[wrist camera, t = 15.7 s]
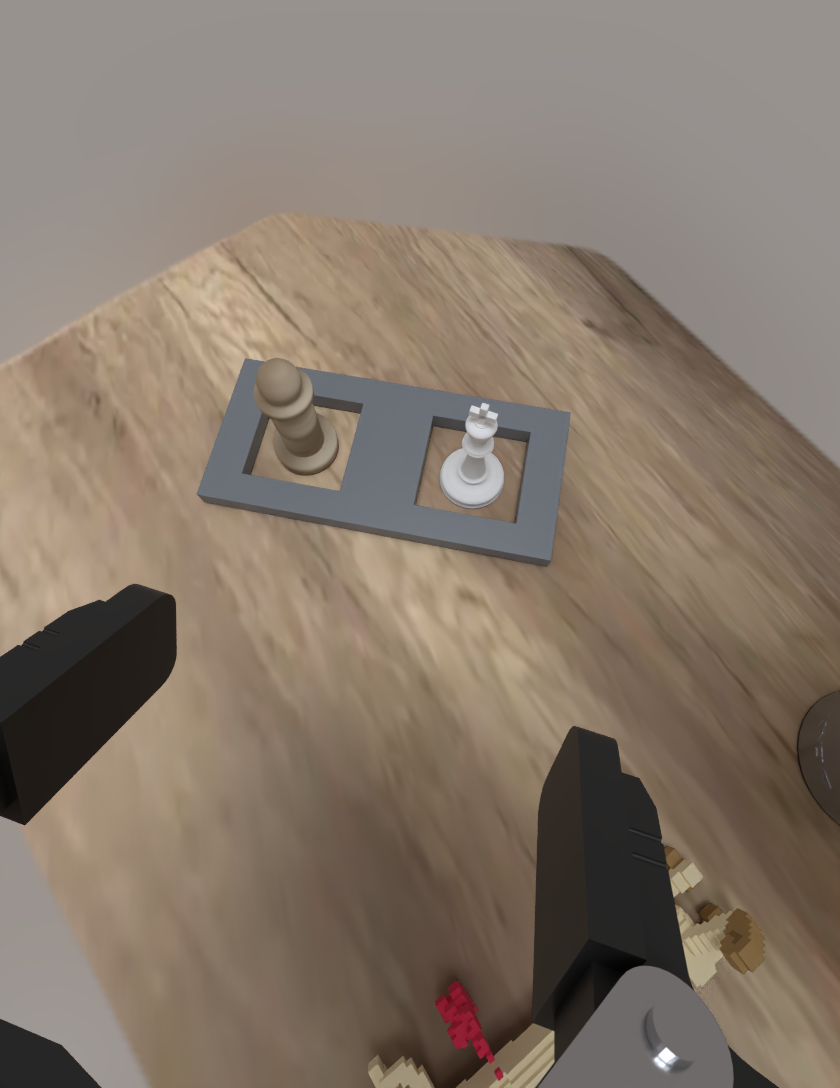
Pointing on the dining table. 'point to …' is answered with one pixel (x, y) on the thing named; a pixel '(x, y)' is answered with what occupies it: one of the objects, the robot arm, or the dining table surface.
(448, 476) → the chess piece
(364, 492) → the grey chess piece holder
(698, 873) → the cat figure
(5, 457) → the dining table surface
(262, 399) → the pawn
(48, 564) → the dining table surface
